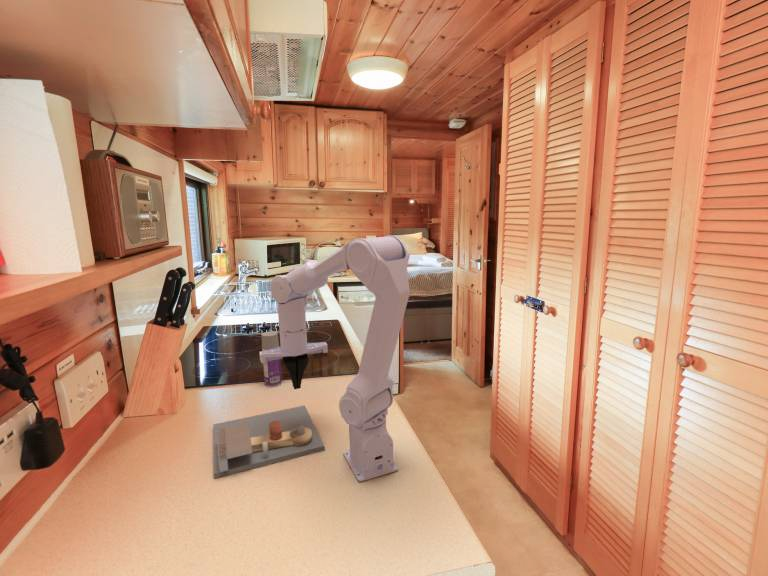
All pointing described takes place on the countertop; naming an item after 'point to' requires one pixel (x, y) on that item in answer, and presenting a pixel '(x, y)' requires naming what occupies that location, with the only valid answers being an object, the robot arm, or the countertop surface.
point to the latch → (282, 437)
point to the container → (271, 367)
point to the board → (267, 456)
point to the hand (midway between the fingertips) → (296, 387)
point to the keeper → (232, 444)
